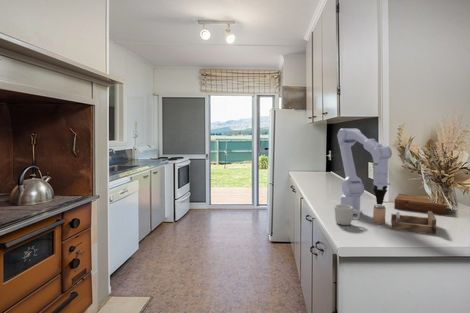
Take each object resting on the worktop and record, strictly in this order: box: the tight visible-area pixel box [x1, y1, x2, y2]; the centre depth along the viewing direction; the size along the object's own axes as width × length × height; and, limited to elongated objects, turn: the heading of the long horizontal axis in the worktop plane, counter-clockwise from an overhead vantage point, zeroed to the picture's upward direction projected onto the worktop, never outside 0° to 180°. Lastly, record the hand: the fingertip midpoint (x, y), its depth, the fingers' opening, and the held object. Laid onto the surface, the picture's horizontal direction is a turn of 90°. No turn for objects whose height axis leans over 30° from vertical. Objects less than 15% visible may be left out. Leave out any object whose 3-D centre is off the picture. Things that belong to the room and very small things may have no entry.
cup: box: [334, 204, 361, 226], centre depth 136 cm, size 11×8×8 cm
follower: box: [395, 211, 401, 222], centre depth 134 cm, size 1×11×4 cm, turn 152°
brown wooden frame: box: [390, 211, 437, 235], centre depth 132 cm, size 16×15×6 cm
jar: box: [372, 204, 387, 225], centre depth 138 cm, size 5×5×8 cm
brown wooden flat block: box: [393, 193, 447, 216], centre depth 164 cm, size 23×19×6 cm
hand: (379, 202), depth 137 cm, fingers open, 7 cm apart
